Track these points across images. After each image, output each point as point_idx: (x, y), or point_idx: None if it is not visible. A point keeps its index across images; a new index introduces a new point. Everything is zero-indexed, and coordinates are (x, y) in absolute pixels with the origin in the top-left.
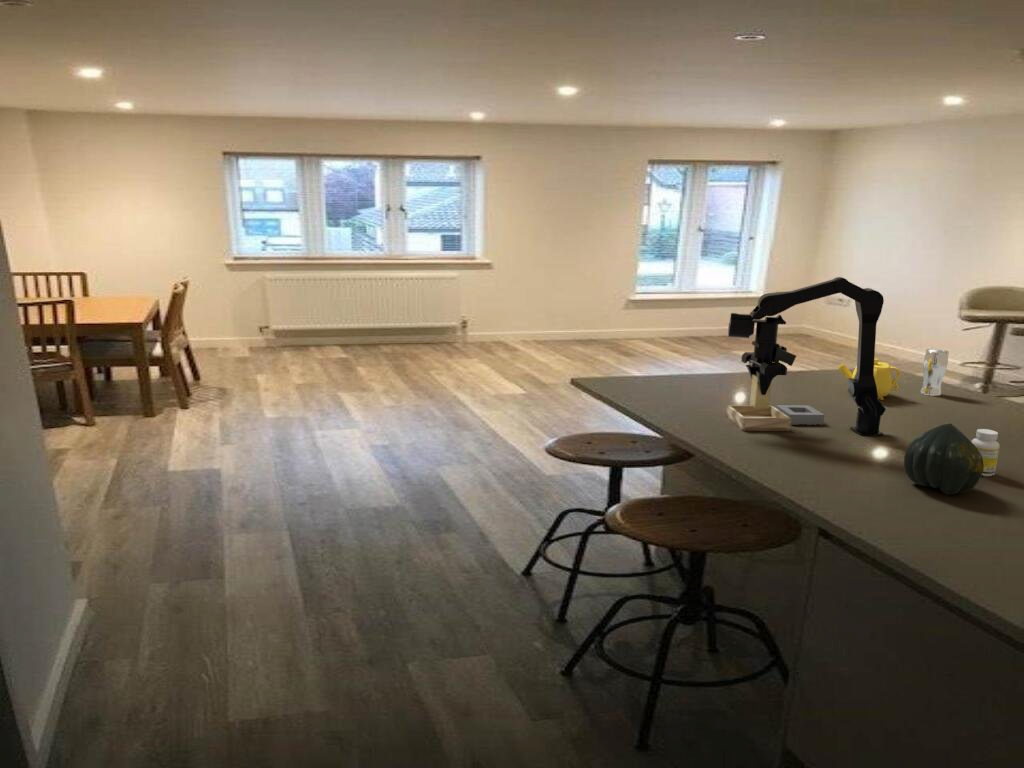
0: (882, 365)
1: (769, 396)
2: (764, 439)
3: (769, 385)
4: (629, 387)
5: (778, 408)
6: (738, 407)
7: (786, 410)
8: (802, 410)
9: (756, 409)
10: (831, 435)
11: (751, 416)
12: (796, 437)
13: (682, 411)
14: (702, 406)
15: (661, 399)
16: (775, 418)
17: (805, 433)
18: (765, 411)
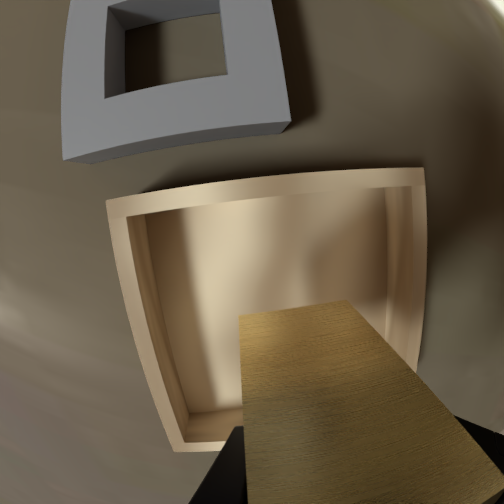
0: None
1: (386, 345)
2: (476, 315)
3: (485, 428)
4: (2, 494)
5: (100, 152)
6: (175, 406)
7: (182, 115)
8: (112, 22)
9: (150, 305)
10: (412, 24)
11: (195, 324)
12: (464, 181)
13: (156, 499)
14: (64, 439)
15: (53, 493)
16: (424, 264)
17: (414, 113)
18: (141, 242)
